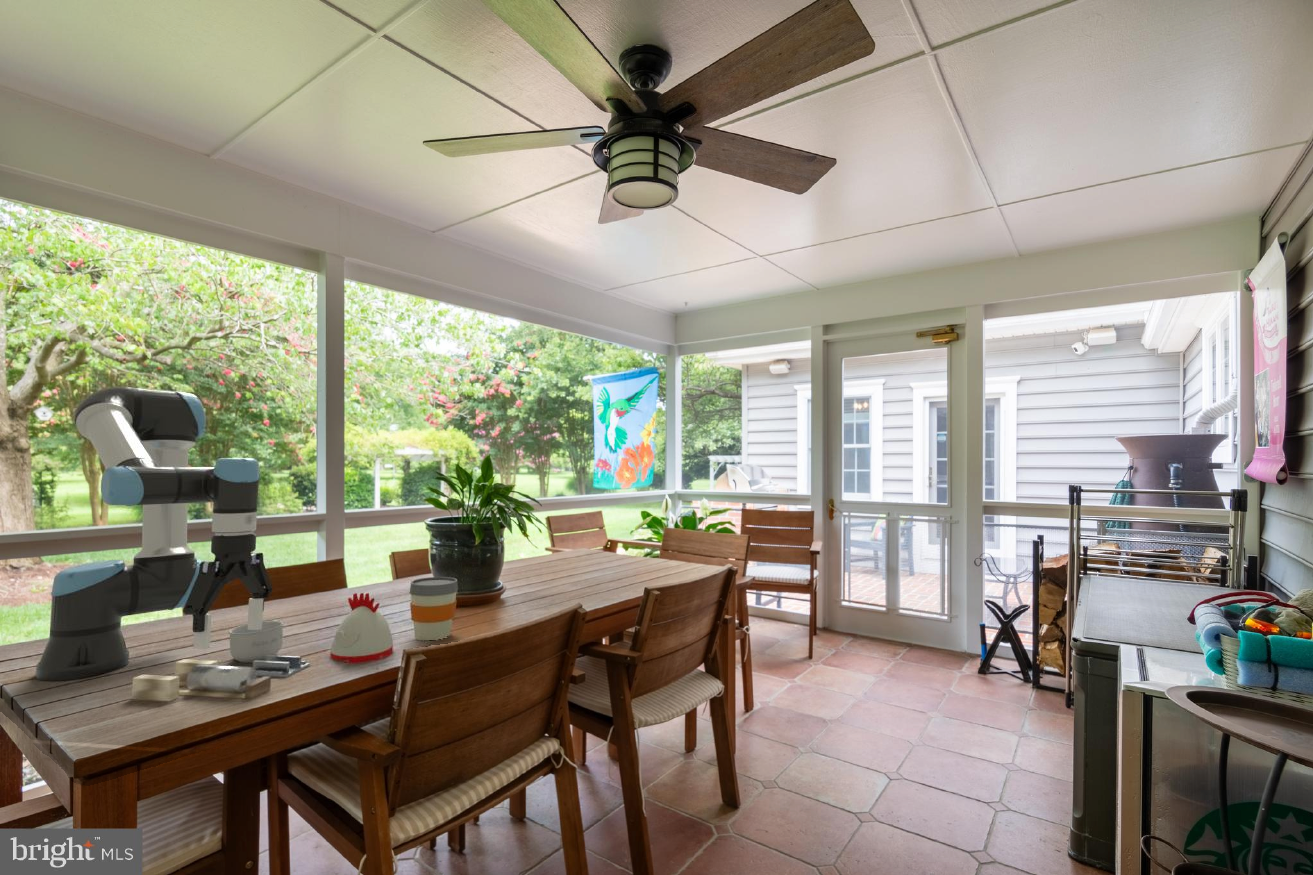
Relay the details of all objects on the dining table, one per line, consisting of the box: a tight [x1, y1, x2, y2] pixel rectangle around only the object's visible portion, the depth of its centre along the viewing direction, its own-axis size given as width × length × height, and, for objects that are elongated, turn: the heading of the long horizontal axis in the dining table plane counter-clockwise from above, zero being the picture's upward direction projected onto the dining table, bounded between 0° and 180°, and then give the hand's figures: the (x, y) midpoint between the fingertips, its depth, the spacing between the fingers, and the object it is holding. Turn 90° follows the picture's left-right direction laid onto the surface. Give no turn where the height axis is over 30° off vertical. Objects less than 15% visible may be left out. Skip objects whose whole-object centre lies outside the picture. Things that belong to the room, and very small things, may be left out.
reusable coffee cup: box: [409, 576, 459, 642], centre depth 165 cm, size 13×13×15 cm
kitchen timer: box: [329, 592, 394, 664], centre depth 149 cm, size 14×14×15 cm
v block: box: [252, 654, 311, 679], centre depth 135 cm, size 10×8×3 cm
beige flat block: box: [131, 658, 272, 702], centre depth 122 cm, size 22×12×4 cm, turn 85°
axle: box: [186, 664, 258, 693], centre depth 122 cm, size 11×5×5 cm, turn 85°
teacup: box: [228, 619, 284, 663], centre depth 145 cm, size 14×11×8 cm
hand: (229, 638), depth 122 cm, fingers open, 13 cm apart
